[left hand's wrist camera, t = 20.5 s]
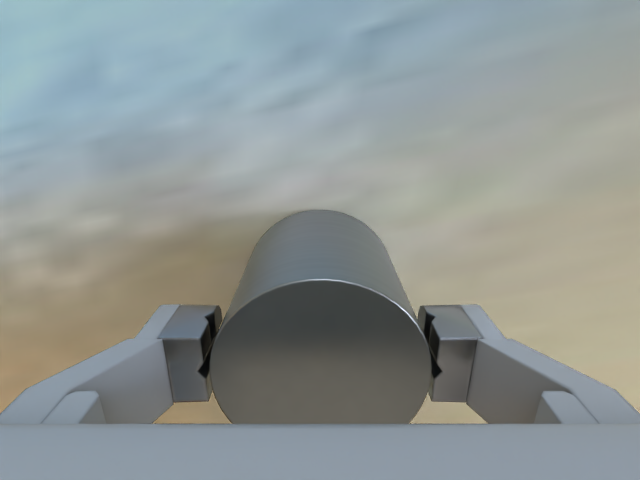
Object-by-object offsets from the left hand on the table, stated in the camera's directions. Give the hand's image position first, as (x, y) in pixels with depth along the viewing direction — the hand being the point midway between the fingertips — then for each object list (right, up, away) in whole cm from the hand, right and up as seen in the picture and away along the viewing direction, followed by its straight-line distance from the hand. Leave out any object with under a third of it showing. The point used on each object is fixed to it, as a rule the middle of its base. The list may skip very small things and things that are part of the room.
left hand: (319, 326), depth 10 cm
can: (0, +1, +3) cm, 3 cm away
